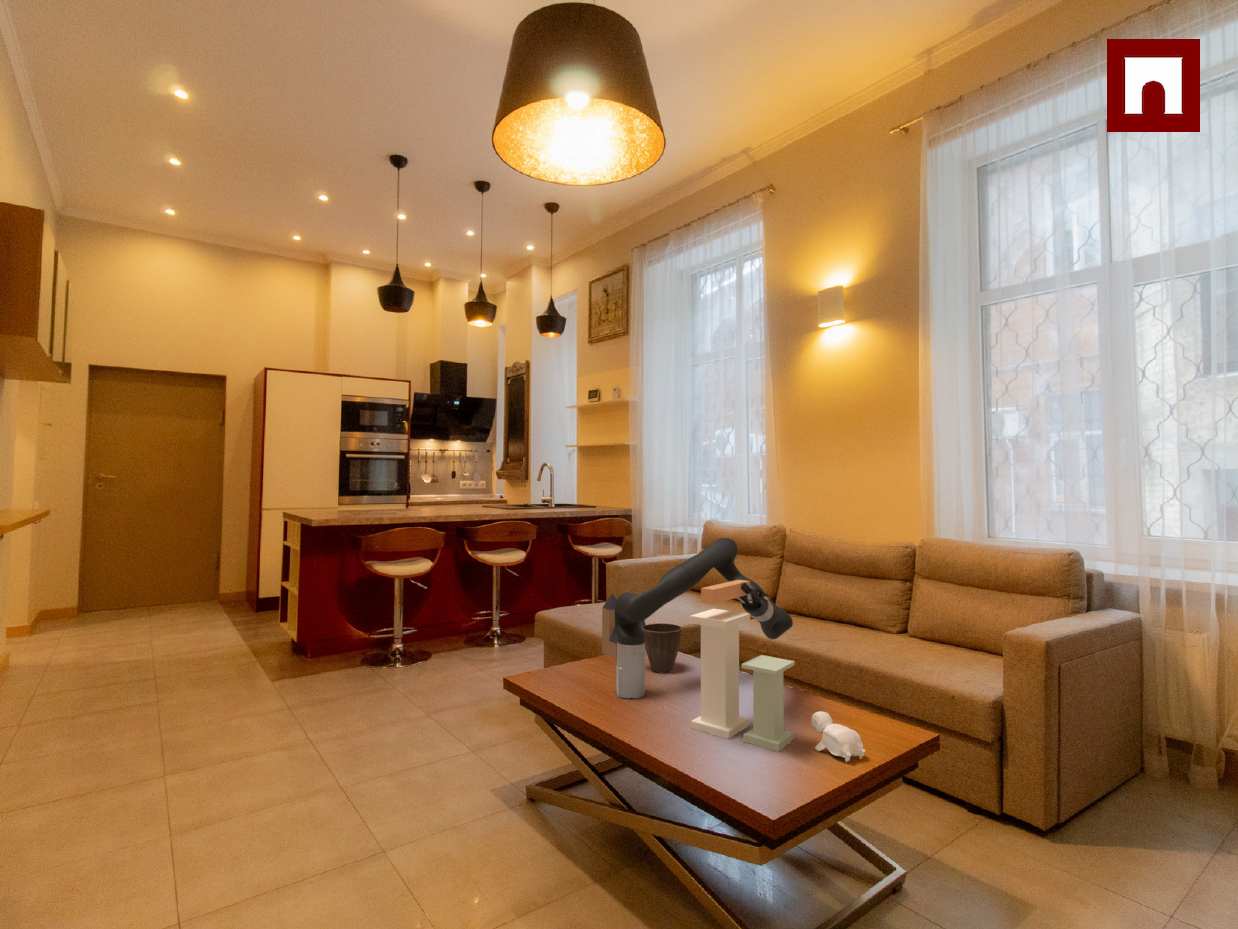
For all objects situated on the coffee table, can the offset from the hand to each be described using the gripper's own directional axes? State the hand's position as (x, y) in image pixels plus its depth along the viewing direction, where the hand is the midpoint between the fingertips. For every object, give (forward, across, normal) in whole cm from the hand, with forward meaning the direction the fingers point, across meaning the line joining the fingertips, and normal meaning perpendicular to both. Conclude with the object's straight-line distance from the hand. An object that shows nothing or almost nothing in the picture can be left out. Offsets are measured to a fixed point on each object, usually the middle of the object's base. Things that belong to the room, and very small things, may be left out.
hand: (735, 584), depth 184 cm
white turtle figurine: (-16, +32, +37) cm, 51 cm away
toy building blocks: (-51, -69, +17) cm, 87 cm away
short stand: (-12, +15, +39) cm, 43 cm away
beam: (+3, 0, +6) cm, 7 cm away
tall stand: (-12, 0, +39) cm, 41 cm away
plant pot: (-42, -44, +22) cm, 65 cm away
